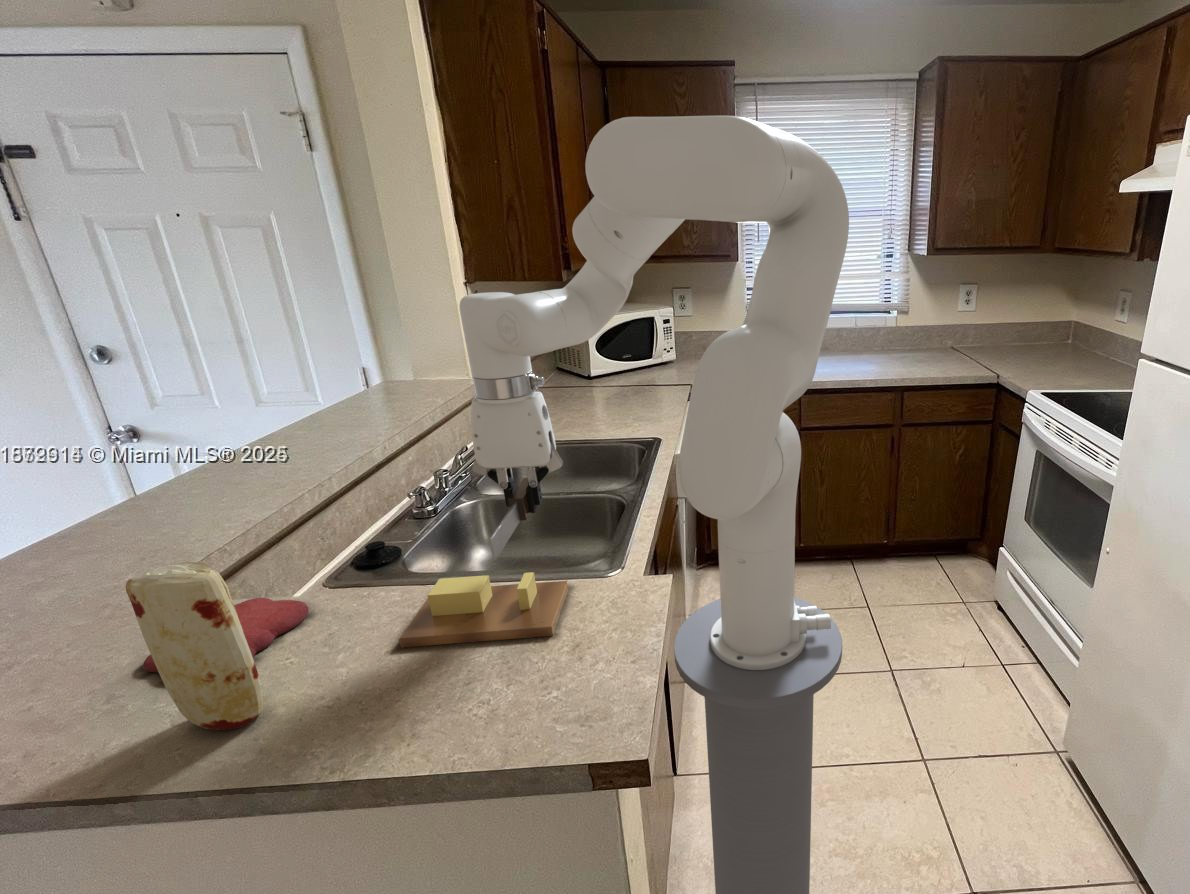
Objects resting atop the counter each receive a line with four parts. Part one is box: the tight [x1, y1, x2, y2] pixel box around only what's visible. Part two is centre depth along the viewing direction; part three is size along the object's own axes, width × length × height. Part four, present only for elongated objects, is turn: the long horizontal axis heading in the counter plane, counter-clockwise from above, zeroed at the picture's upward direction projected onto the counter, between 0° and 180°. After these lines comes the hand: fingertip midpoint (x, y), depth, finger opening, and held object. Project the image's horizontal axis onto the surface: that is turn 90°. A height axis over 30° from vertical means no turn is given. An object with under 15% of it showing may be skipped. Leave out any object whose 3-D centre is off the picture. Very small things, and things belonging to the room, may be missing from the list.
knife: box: [488, 477, 532, 561], centre depth 84 cm, size 19×2×3 cm, turn 6°
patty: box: [142, 597, 310, 673], centre depth 84 cm, size 18×14×2 cm
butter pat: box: [517, 571, 537, 610], centre depth 90 cm, size 1×4×4 cm, turn 7°
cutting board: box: [398, 580, 570, 648], centre depth 89 cm, size 20×12×2 cm, turn 97°
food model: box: [125, 561, 264, 731], centre depth 67 cm, size 10×7×20 cm
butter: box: [427, 574, 492, 616], centre depth 89 cm, size 7×4×4 cm, turn 97°
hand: (525, 508), depth 89 cm, fingers closed on knife, 2 cm apart
